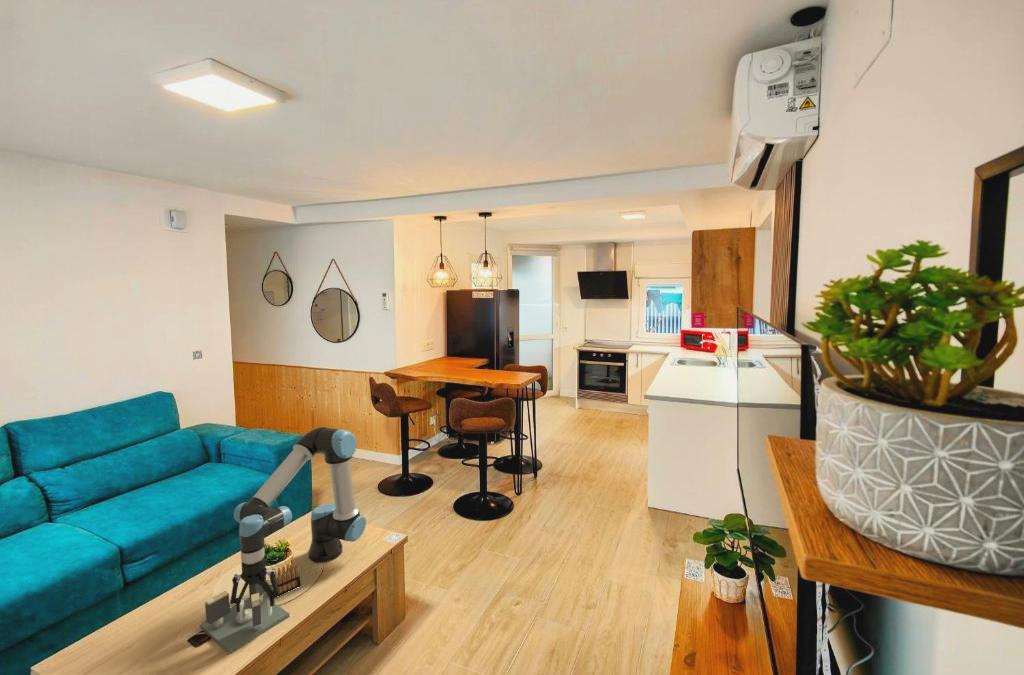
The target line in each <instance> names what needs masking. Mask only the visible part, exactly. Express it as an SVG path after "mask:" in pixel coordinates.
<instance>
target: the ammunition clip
mask: <svg viewBox="0 0 1024 675" xmlns="http://www.w3.org/2000/svg"><path fill="white" fill-rule="evenodd" d="M281 570H282V571H281ZM275 577H276V580H277V583H278V587H279V590H280V591H279V595H278V596H279V597H280V595H281V596H283V595H285V594H284V593H286V592H288V591H290V592H292V591H291V590H293V589H295V588H297V587H300V586H301V587H302V584H301V583H302V582H301V575H300V567H299V561H298V560H295V563H294V562H291V564H290V565H289V563H287V565H286V567H285V565H283V566H282V568H280V567H278V569H277V571H276V569H275ZM301 587H300V588H301ZM297 589H298V588H297ZM295 590H296V589H295ZM293 591H294V590H293ZM288 593H289V592H288ZM282 594H283V595H282ZM286 594H287V593H286ZM274 599H276V598H275V597H274Z"/></svg>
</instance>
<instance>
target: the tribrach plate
mask: <svg viewBox="0 0 1024 675" xmlns="http://www.w3.org/2000/svg"><path fill="white" fill-rule="evenodd" d="M243 600H244V611H245V617H244V619H243V621H240V612H237V606H236V604H234V605H233V606H231V607H230V613H229V614H227V615H226V616H224V617H223V622H224V625H223V627H221V628H219V629H215V628H214V623H212V624H209V623H207V622H206V620H205V621H204V622H202V623H200V624H199V628H200V630H201V631H202V630H203V631H204V632H206V633H207V634H208V635H209V636H210V637H211V638H212V639H211V640H213V641H214V642H215V643H216V644H217V645H218V646H219V647H221V648H222V649H223V650H224V651H225V652H226V653H227V654H228V655H230V654H233V653H234V652H235V651H237V650H239V649H240V648H241V647H243V646H245V645H246V644H248V643H250V642H251V641H253V640H255V639H256V638H258V637H260V636H262V635H263V634H265V633H266V632H268V631H269V630H270V629H272V628H274V627H276V626H278V624H280V623H282V622H284V621H285V620H287V619H289V618H290V612H288V611H287V610H286V609H283V607H281V606H280V605H278V604H277V603H274V606H272V613H271V616H269V617H268V602H267V600H268V597H267V596H265V595H264V594H263V604H262V605H260V608H261V622H262V628H261V629H260V630H258V631H253V629H252V603H251V601H250V596H249V597H247V598H246V599H243Z"/></svg>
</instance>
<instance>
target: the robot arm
mask: <svg viewBox="0 0 1024 675" xmlns="http://www.w3.org/2000/svg"><path fill="white" fill-rule="evenodd" d="M357 443H358V441H357V438H356V436H355V434H354V433H352V432H351V431H349V430H346V429H341V428H340V429H338V428H332V427H325V426H322V427H321V426H320V427H316V428H313V429H311V430H310V431H309V432H307V433H305V434H304V435H302V437H300V438H299V439H298V441H296V442H295V444H294V445H293V446H292V451H291V452H290V453H289V454H288V456H286V457H285V459H284V460H283V461H282V462H281V463H280V465H279V466H278V467H277V468H276V470H275V471H273V473H272V474H271V475H270V477H269V478H268V479H267V480H266V481H265V482H264V484H262V486H261V487H260V488H259V489H258V490H257V491H256V493H255V494H253V496H251V497H252V498H251V499H249V501H247V502H242V503H240V504H238V505H237V506H235V509H234V511H233V518H234V520H235V521H236V522H237V523H239V530H238V533H239V544H240V561H241V563H240V564H241V574H238V573H237V574H236V573H235V574H234V575H233V577H232V580H231V581H232V584H233V585H232V590H231V596H230V600H229V605H230V604H231V605H233V604H234V605H236V606H237V612H240V621H243V619H244V617H245V611H244V600H245V599H243V596H244V594H245V592H246V590H247V588H248V587H249V585H252V584H259V585H260V586H262V588H263V589H264V591H265V592H264V593H265V594H266V595H267V598H268V600H267V602H268V617H269V616H271V613H272V606H274V603H275V598H274V597H277V596H278V595H279V591H280V590H279V587H278V583H277V582H278V580H276V577H275V570H276V568H272V569H267V568H266V556H265V555H266V553H265V552H266V550H265V549H266V548H265V538H267V537H269V536H271V535H272V534H274V533H276V532H278V531H279V530H281V529H284V528H285V527H286V526H288V525H289V524H290V523H291V521H292V519H293V512H292V511H291V509H290V508H289V507H288V506H285V505H281V506H279V507H276V508H270V507H271V505H272V504H273V503H274V502H275V501H276V500H277V498H278V497H279V496H280V494H281V493H282V492H283V491H284V490H285V488H286V487H287V486H288V484H289V483H290V482H291V481H292V479H294V478H295V476H296V475H297V473H299V471H300V470H301V469H302V467H304V465H305V464H306V462H308V461H310V460H312V459H313V458H314V456H316V455H318V454H321V455H323V456H324V463H325V464H327V465H329V471H330V472H329V473H330V479H331V480H330V481H331V486H332V487H331V488H332V492H333V493H332V494H333V502H334V503H326V504H322V505H320V506H317V507H315V508H314V509H313V510H312V511H311V514H310V516H311V517H310V526H311V528H310V529H311V543H310V546H309V549H308V559H309V560H310V561H311V562H314V563H326V562H330V561H333V560H335V559H337V558H338V557H339V556H341V554H343V543H342V541H345V542H351V543H354V542H356V541H358V540H359V539H360V538H361V537H362V535H363V534H364V532H365V530H366V526H367V519H366V517H365V516H364V515H361V513H360V508H359V507H358V505H356V501H355V494H354V485H353V478H352V471H351V463H350V460H352V458H353V456H354V454H355V452H356V448H357V446H358V445H357ZM265 575H266V576H268V578H269V580H270V584H271V586H270V584H269V582H268V581H267V577H266V578H265ZM241 580H243V582H244V584H243V587H242V589H241V591H240V594H239V595H238V597H237V593H238V586H239V582H240V581H241ZM277 598H278V597H277ZM275 604H276V603H275Z"/></svg>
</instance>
